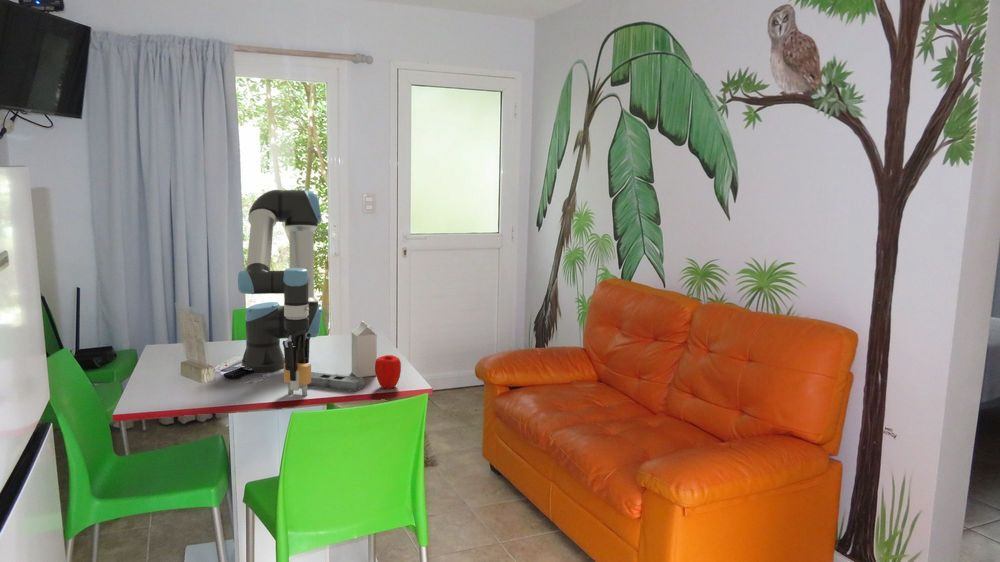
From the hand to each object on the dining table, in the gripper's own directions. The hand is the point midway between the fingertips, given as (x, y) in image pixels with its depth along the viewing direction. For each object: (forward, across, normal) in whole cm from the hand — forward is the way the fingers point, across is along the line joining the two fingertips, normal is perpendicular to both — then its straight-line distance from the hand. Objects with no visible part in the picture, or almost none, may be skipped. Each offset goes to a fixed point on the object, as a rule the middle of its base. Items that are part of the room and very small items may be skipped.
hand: (297, 388), depth 230 cm
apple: (+2, +17, -24) cm, 29 cm away
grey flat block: (+2, +12, -6) cm, 14 cm away
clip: (+2, 0, 0) cm, 2 cm away
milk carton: (+2, +28, -10) cm, 30 cm away
